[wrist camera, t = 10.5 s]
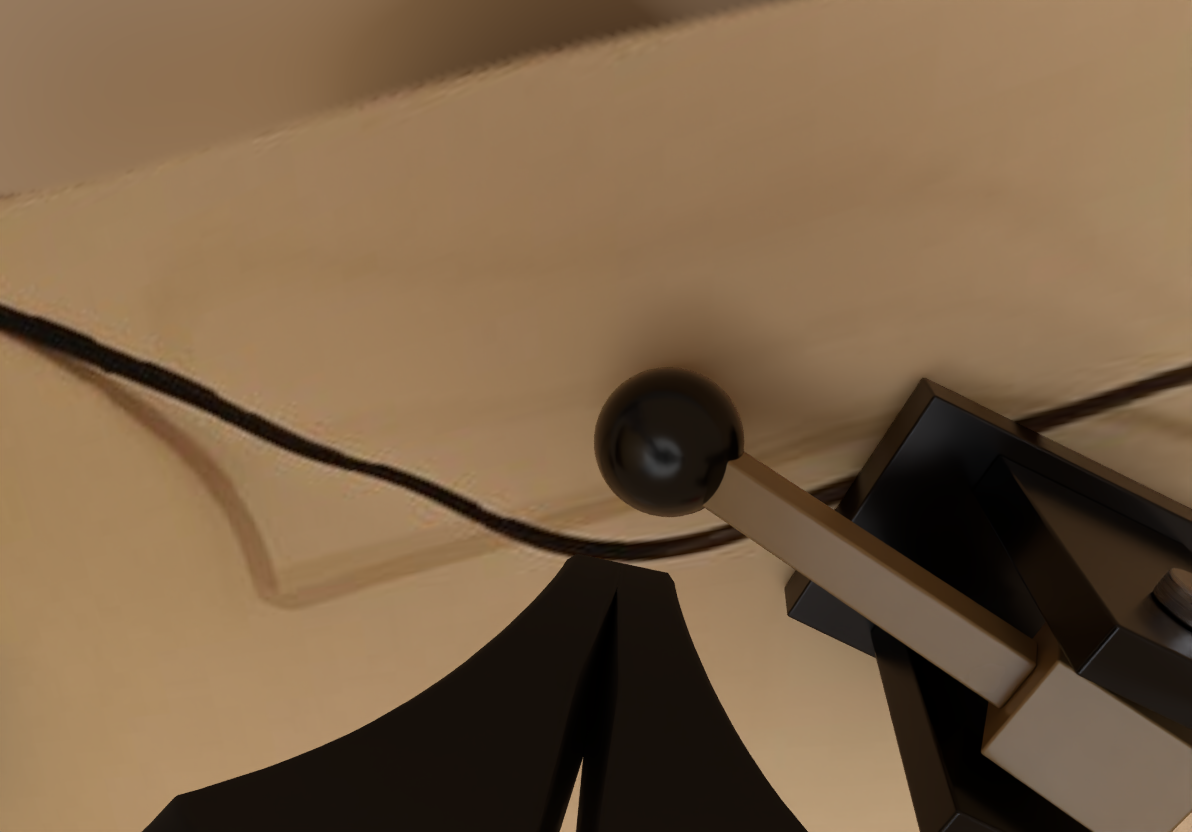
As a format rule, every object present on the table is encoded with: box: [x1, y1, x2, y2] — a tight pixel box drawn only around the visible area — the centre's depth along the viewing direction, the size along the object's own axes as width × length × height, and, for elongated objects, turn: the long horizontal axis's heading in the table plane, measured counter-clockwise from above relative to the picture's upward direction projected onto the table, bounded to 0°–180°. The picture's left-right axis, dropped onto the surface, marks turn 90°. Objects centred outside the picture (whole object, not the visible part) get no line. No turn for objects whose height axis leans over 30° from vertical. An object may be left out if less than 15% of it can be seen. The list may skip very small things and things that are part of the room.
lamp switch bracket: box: [785, 378, 1192, 832], centre depth 17 cm, size 8×6×7 cm
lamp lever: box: [594, 367, 1192, 832], centre depth 17 cm, size 12×3×3 cm, turn 66°
